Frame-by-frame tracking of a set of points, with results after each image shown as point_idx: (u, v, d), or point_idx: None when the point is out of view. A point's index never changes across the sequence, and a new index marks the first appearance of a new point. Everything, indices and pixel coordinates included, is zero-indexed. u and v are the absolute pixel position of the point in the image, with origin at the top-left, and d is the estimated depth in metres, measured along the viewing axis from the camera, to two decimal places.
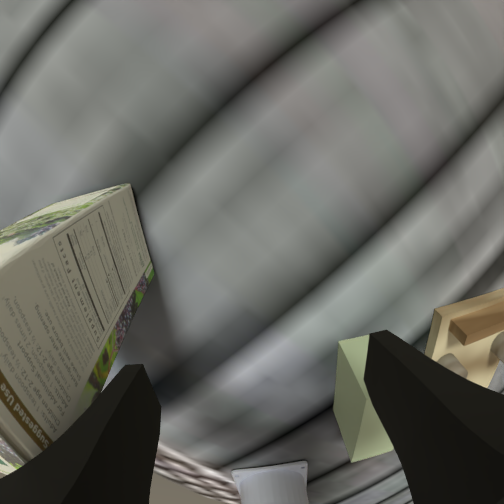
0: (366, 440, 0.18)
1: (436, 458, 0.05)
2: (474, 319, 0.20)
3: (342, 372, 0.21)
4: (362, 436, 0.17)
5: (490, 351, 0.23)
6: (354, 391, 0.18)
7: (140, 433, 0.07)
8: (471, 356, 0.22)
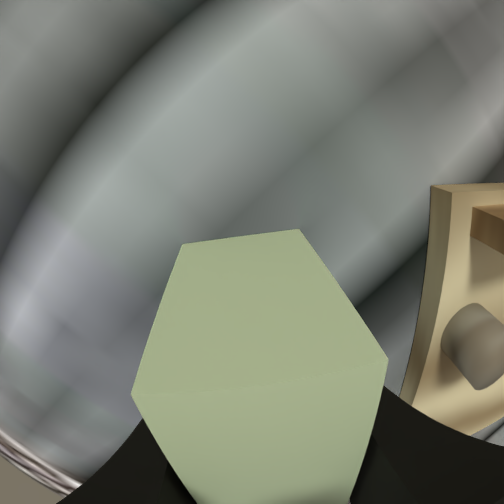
0: None
1: (367, 484, 0.05)
2: None
3: None
4: None
5: None
6: None
7: None
8: None
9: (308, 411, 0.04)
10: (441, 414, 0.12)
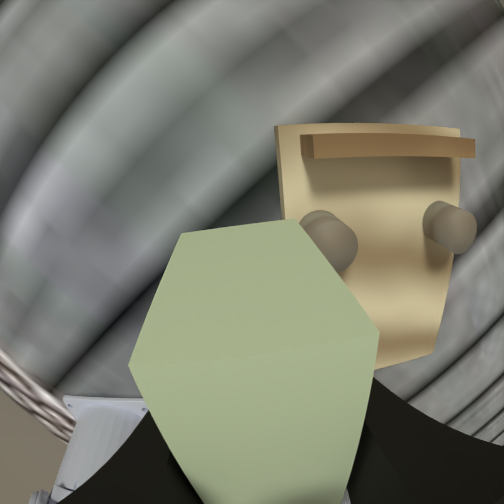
0: (235, 503, 0.06)
1: (367, 484, 0.05)
2: None
3: None
4: (211, 494, 0.05)
5: (424, 236, 0.16)
6: None
7: None
8: (382, 234, 0.16)
9: (301, 385, 0.04)
10: None
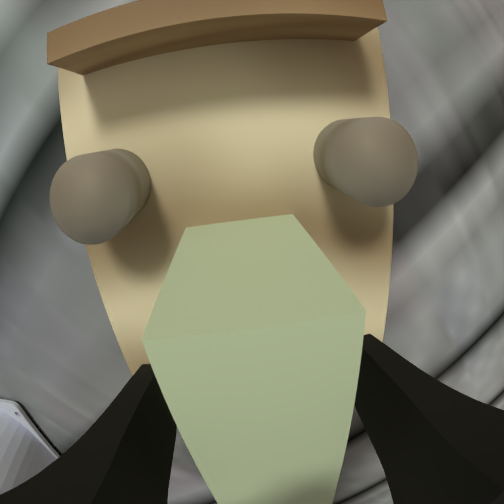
0: (236, 483, 0.06)
1: (415, 467, 0.05)
2: None
3: None
4: (213, 472, 0.06)
5: (323, 185, 0.10)
6: None
7: (159, 433, 0.07)
8: (229, 180, 0.10)
9: (296, 358, 0.05)
10: None
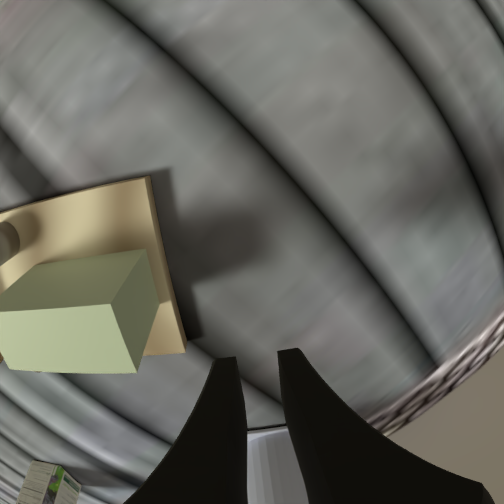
0: (73, 360, 0.12)
1: (316, 497, 0.05)
2: None
3: None
4: (65, 367, 0.12)
5: (20, 250, 0.16)
6: None
7: (241, 429, 0.07)
8: None
9: None
10: None
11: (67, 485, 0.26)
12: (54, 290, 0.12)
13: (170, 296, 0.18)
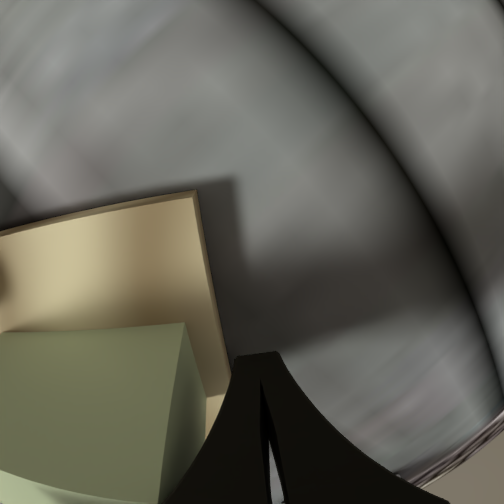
0: None
1: (285, 502, 0.05)
2: None
3: None
4: None
5: None
6: None
7: (265, 426, 0.07)
8: None
9: None
10: None
11: None
12: (30, 419, 0.05)
13: None
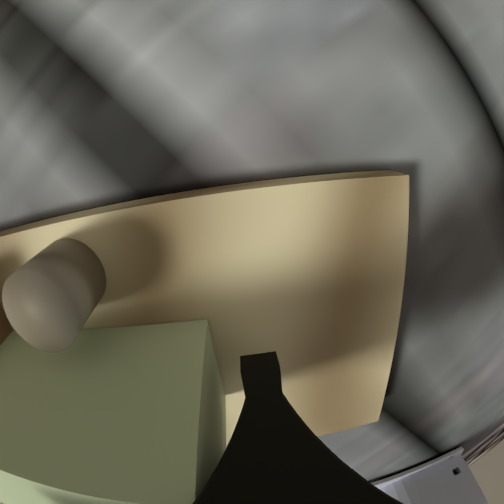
0: None
1: None
2: None
3: None
4: None
5: (105, 298, 0.09)
6: None
7: None
8: None
9: None
10: None
11: None
12: (48, 421, 0.05)
13: None
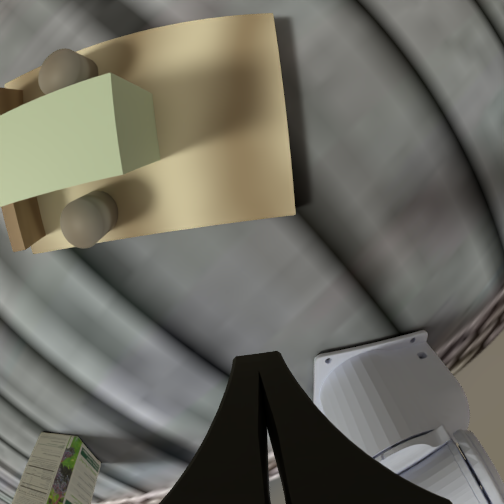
0: (45, 171, 0.09)
1: (286, 502, 0.05)
2: None
3: None
4: (33, 187, 0.09)
5: None
6: None
7: (263, 426, 0.07)
8: None
9: None
10: (198, 182, 0.15)
11: (84, 461, 0.23)
12: None
13: (288, 136, 0.15)
